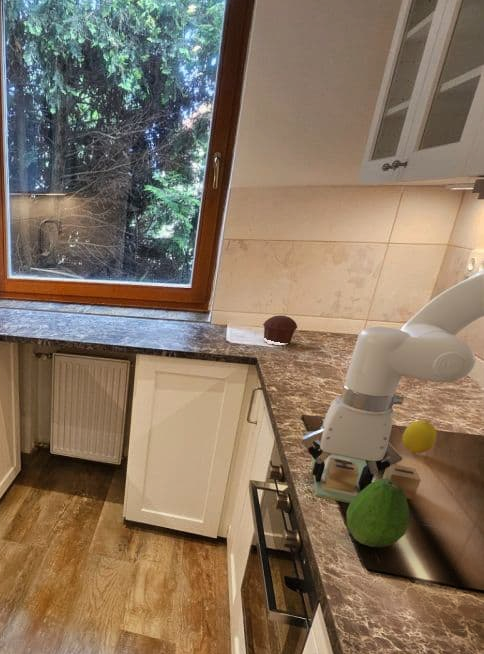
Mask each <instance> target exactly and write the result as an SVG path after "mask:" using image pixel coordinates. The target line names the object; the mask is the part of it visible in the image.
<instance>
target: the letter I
mask: <svg viewBox="0 0 484 654" xmlns="http://www.w3.org/2000/svg"><path fill="white" fill-rule="evenodd" d="M386 478H387V479H389V480H391V481H393V482H395V483H397V484H398V485H399V486H400V487H401V488H402V490H403V491H404V493H405V496H406V499H407V500H414V498H415V495H416V493H417V490H418V488H419V485H420V483H421V482H422V481H421V478H420V475H419V473H418V471H417V469H416V468H415V467H409V466H404V465H399V464H393V465H390V467H388V468H386V469H384V472H383V475H382V478H381V479H386Z"/></svg>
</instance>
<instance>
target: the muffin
mask: <svg viewBox="0 0 484 654" xmlns="http://www.w3.org/2000/svg"><path fill="white" fill-rule="evenodd" d="M262 326H263V327H264V328H263V339H264V338H266V339H267V340H271V341H274V342H280V343H289V344H291V341H292V339H293V336H294V332H296V330H297V329H298V324H297V323H296V321H295V320H294V319H293V318H291V317H290V316H287V315H274V316H270V317H269V318H268V319H267V320H265V321H264V322H263V324H262Z"/></svg>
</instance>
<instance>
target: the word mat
mask: <svg viewBox="0 0 484 654" xmlns="http://www.w3.org/2000/svg"><path fill="white" fill-rule="evenodd" d="M310 455H311V454H310ZM330 457H333V458H338V459H343V460H349V461H354V462H356V463H357V467H358V471H359V475H358V478H357V481H356V484H355V487H354V490H353V493H351V492H346V491H341V490H337V489H332V488H327V487H326V485H325V478H324V475H325V472H326V468H327V465H328V462H329V458H330ZM314 463H315V459H314V458H313V457H312V455H311V464H312V468H313V467H314ZM324 463H325V467H324V471H323V474H322V477H321V481H320V482H316V480H315V475H313V485H314V493H315V497H319V498H324V499H330V500H334V501H337V502H342V503H347V504H350V502H351V501H352V500H353V499H354V498H355V497H356V496H357V494H358V493H360V492H361V490H360V488H359V484H358V482H359V479H360V476H361V473H362V470H363V467H365V466H367V465H368V463H367V460H362V459H357V458H351V457H346V456H341V455H336V454H331V455H330V456H329V457H328V458H327V459H326V460H324Z"/></svg>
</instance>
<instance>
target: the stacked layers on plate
mask: <svg viewBox="0 0 484 654" xmlns="http://www.w3.org/2000/svg"><path fill="white" fill-rule="evenodd" d="M323 414H324V415H325V416H326V415H327V413H325V412H324V413H323ZM324 420H325V417H324V418H322V421H323V422H324ZM321 428H322V425H321V426H320V429H321ZM316 431H317V430H315V431H302V433H303V434H305V436H306V435H309V434H311V433H313V432H316ZM320 442H321V441H319V440H316V441H314V443H315V444H317V445H318V446H320V444H321V443H320Z"/></svg>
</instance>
